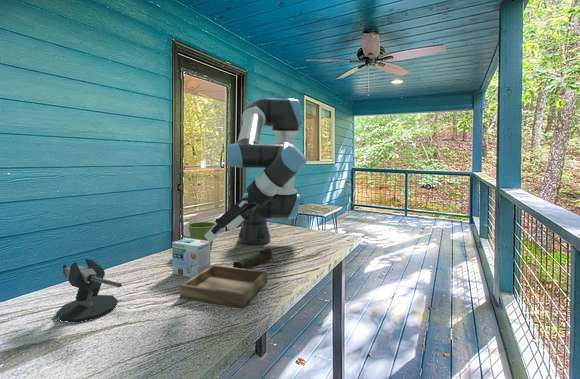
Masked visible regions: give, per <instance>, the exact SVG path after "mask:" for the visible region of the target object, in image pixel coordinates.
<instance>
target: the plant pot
mask: <svg viewBox="0 0 580 379" xmlns="http://www.w3.org/2000/svg"><path fill="white" fill-rule="evenodd" d="M215 224H216V222H213V221H198V222H197V221H196V222H191V223H188V224H186V227H187V228H188V233H189V236H190V237H189V238H190V239H197V240H204V241H208V240H207V239H206V238H205V236H204V235H205V234H206V233H207V232H208V231H209V230H210V229H211V228H212V227H213V226H214V225H215ZM213 241H214V240H213ZM213 241H212V242H210V252H211V251H212V248H213Z"/></svg>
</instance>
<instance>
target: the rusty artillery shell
mask: <svg viewBox="0 0 580 379" xmlns="http://www.w3.org/2000/svg"><path fill="white" fill-rule="evenodd" d="M272 258H273V252H272V248H269V247H268V248H265V249H261V250H260V251H259V253H257V254H254V255H251V256H248V257H247V258H243V259H239V260H238V261H234V262H233V264H232V267H235V268H243V269H250V268H251V267H255V266H256V265H259V264H261V263H267V262H270V260H271V259H272Z"/></svg>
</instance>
